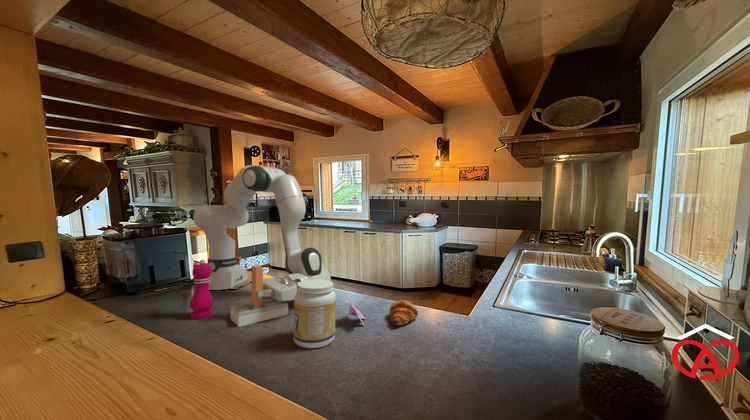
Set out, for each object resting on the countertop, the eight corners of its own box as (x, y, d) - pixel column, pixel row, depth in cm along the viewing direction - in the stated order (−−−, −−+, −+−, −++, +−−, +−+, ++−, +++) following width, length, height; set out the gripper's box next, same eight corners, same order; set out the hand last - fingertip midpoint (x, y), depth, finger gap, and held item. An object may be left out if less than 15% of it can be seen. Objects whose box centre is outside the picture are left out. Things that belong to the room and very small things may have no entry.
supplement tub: (290, 334, 89) (291, 279, 89) (329, 328, 94) (330, 276, 94) (296, 353, 78) (297, 290, 78) (339, 345, 83) (341, 286, 82)
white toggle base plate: (277, 307, 112) (277, 297, 112) (288, 314, 105) (288, 303, 105) (230, 318, 100) (230, 306, 100) (238, 326, 94) (238, 314, 94)
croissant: (402, 316, 115) (393, 297, 117) (424, 307, 113) (415, 288, 114) (387, 337, 95) (377, 314, 97) (415, 327, 93) (404, 303, 94)
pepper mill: (194, 321, 97) (195, 262, 97) (185, 316, 101) (186, 259, 101) (217, 315, 103) (217, 259, 102) (207, 311, 107) (208, 257, 107)
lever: (259, 304, 106) (260, 264, 105) (265, 309, 101) (266, 267, 101) (247, 306, 103) (248, 265, 103) (253, 311, 98) (254, 268, 98)
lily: (354, 338, 90) (369, 309, 92) (324, 317, 94) (339, 290, 96) (364, 334, 101) (378, 309, 103) (338, 316, 105) (351, 292, 107)
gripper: (280, 272, 118) (244, 277, 109) (304, 283, 103) (265, 289, 94) (279, 287, 118) (244, 294, 109) (304, 300, 103) (265, 309, 94)
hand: (254, 292), depth 101 cm, fingers closed on lever, 4 cm apart
